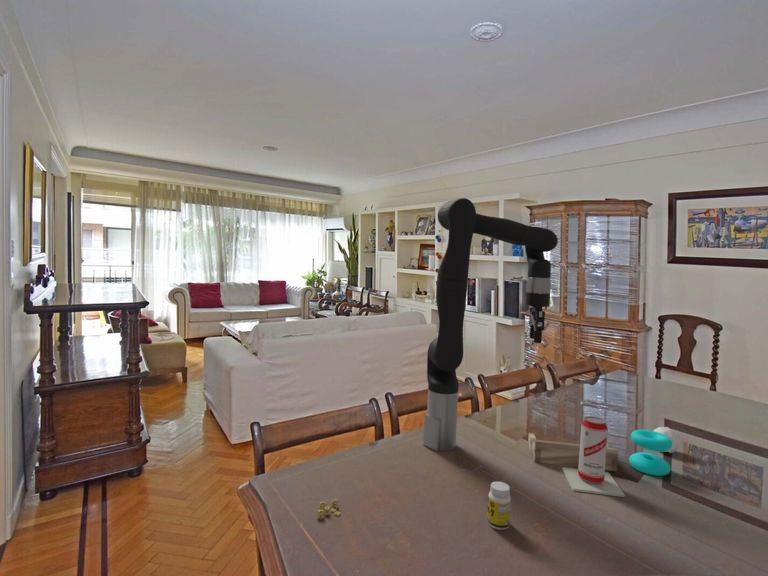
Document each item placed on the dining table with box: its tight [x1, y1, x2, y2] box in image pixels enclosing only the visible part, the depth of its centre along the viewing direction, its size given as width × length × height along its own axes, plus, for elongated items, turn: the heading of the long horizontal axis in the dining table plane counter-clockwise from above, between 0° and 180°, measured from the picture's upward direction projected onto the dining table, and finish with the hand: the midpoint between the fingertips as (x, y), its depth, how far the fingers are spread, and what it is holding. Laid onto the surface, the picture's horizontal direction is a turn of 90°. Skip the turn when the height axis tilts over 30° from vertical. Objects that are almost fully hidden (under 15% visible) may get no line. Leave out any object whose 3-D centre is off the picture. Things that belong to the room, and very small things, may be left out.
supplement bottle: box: [486, 481, 512, 531], centre depth 93 cm, size 5×5×8 cm
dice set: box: [316, 499, 341, 520], centre depth 95 cm, size 5×5×2 cm
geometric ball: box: [652, 426, 681, 454], centre depth 135 cm, size 8×8×8 cm
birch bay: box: [527, 432, 619, 472], centre depth 128 cm, size 12×22×6 cm, turn 80°
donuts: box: [628, 429, 672, 477], centre depth 122 cm, size 10×10×10 cm
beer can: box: [577, 415, 609, 484], centre depth 113 cm, size 6×6×16 cm
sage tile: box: [561, 466, 626, 498], centre depth 113 cm, size 12×12×1 cm
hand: (535, 340), depth 141 cm, fingers open, 8 cm apart
